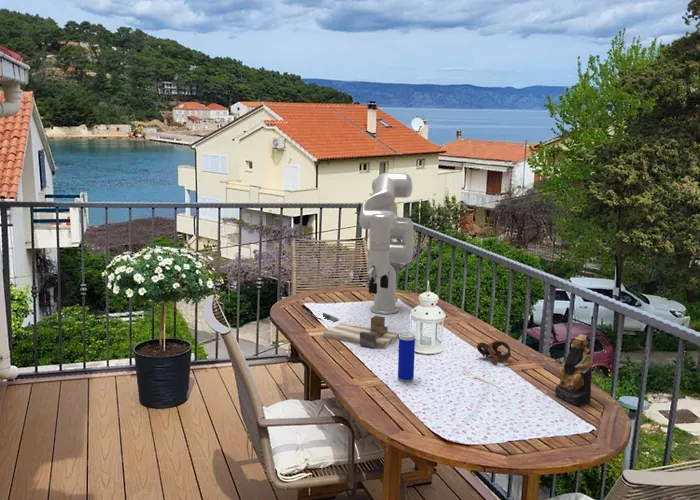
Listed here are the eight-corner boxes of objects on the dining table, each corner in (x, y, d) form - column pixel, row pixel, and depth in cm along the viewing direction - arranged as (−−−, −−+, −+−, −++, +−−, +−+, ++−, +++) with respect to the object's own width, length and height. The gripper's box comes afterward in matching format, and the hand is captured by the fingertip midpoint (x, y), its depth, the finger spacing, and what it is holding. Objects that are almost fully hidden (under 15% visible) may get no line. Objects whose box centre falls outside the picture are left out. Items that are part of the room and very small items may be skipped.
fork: (504, 395, 196) (505, 389, 196) (459, 373, 212) (460, 368, 212) (512, 393, 198) (512, 387, 198) (466, 371, 214) (467, 366, 214)
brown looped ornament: (508, 357, 229) (514, 342, 224) (504, 376, 222) (510, 361, 217) (475, 346, 232) (481, 331, 226) (470, 364, 224) (476, 349, 219)
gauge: (377, 334, 250) (377, 312, 249) (390, 336, 247) (391, 315, 246) (359, 344, 237) (360, 322, 236) (374, 347, 235) (374, 324, 233)
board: (341, 328, 259) (341, 323, 259) (399, 338, 247) (399, 333, 247) (323, 337, 247) (323, 332, 247) (383, 348, 235) (383, 343, 234)
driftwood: (341, 321, 269) (341, 317, 269) (328, 324, 265) (328, 319, 265) (313, 311, 286) (313, 307, 285) (301, 313, 282) (301, 309, 281)
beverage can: (415, 377, 208) (416, 333, 205) (411, 383, 203) (413, 338, 200) (399, 375, 209) (401, 331, 207) (395, 380, 204) (397, 336, 202)
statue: (551, 394, 196) (555, 332, 193) (572, 391, 199) (577, 330, 195) (577, 410, 185) (582, 344, 181) (599, 406, 187) (604, 341, 184)
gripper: (380, 241, 246) (379, 284, 249) (360, 248, 231) (359, 294, 235) (398, 243, 243) (397, 287, 246) (378, 250, 228) (377, 296, 231)
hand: (378, 290), depth 240 cm, fingers open, 9 cm apart
